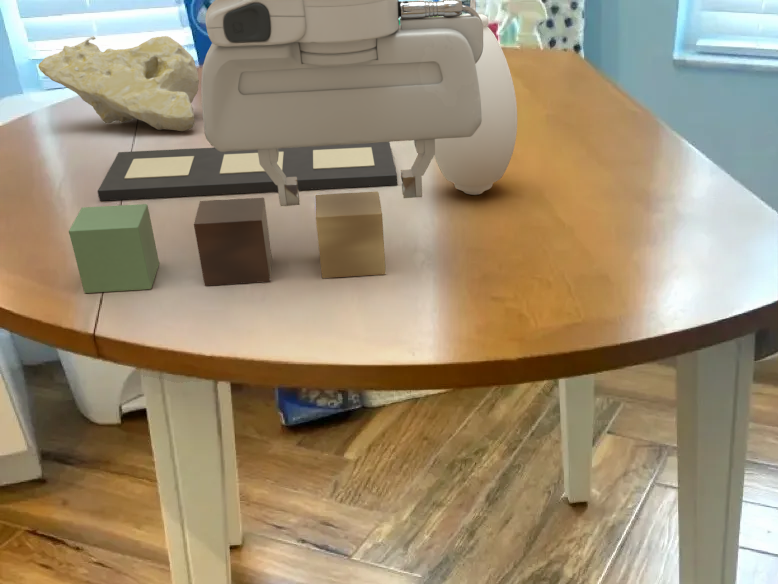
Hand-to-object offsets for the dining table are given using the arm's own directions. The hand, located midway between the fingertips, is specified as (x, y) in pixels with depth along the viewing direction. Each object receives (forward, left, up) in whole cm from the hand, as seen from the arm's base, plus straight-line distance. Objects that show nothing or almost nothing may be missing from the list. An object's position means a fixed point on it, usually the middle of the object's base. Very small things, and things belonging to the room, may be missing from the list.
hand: (351, 199), depth 74 cm
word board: (-9, +24, -5) cm, 27 cm away
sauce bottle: (+12, +15, -5) cm, 20 cm away
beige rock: (-24, +43, -5) cm, 50 cm away
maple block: (0, 0, -5) cm, 5 cm away
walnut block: (-9, 0, -5) cm, 11 cm away
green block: (-18, 0, -5) cm, 19 cm away
